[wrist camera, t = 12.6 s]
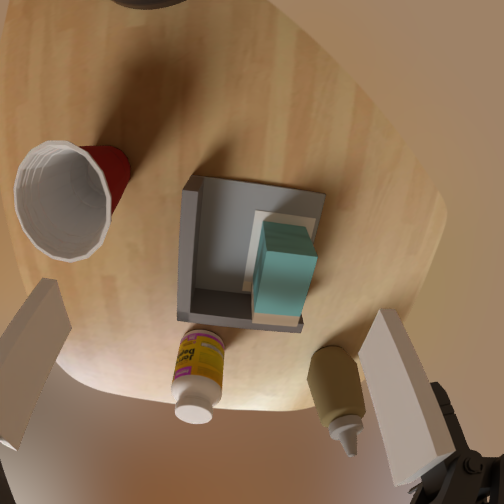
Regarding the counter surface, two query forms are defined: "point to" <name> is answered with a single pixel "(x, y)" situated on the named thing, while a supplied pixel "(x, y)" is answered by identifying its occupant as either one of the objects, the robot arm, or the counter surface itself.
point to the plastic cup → (69, 196)
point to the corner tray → (232, 245)
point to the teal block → (281, 274)
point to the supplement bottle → (198, 376)
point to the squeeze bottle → (337, 395)
